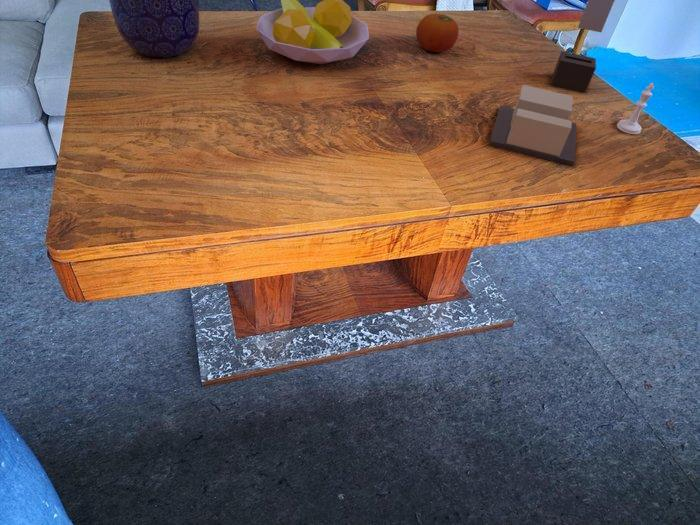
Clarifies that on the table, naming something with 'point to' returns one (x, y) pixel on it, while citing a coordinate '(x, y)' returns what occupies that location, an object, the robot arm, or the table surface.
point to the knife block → (573, 71)
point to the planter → (157, 25)
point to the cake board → (500, 141)
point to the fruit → (437, 32)
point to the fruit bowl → (313, 31)
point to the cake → (544, 102)
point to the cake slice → (539, 132)
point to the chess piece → (636, 114)
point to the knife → (595, 14)
